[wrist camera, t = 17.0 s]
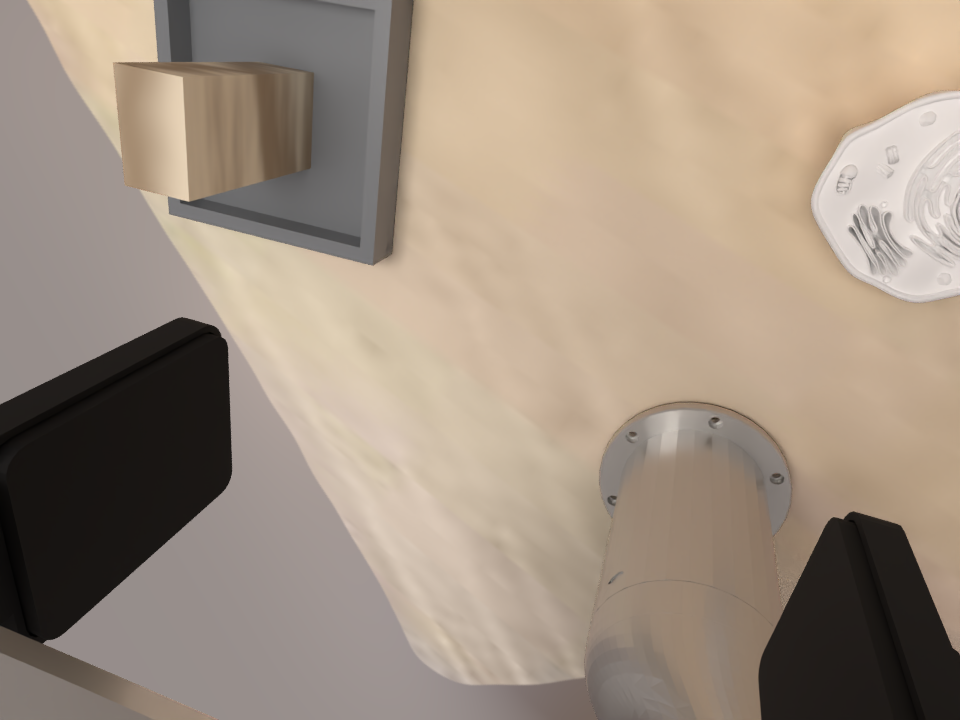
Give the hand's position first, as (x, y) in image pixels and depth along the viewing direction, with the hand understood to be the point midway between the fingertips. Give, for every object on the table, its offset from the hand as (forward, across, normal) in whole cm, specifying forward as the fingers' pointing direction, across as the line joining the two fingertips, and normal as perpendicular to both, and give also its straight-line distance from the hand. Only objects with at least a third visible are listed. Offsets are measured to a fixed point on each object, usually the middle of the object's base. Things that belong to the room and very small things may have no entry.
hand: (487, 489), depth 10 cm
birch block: (+32, +24, +1) cm, 40 cm away
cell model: (+34, -14, -2) cm, 36 cm away
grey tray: (+33, +24, +1) cm, 41 cm away
